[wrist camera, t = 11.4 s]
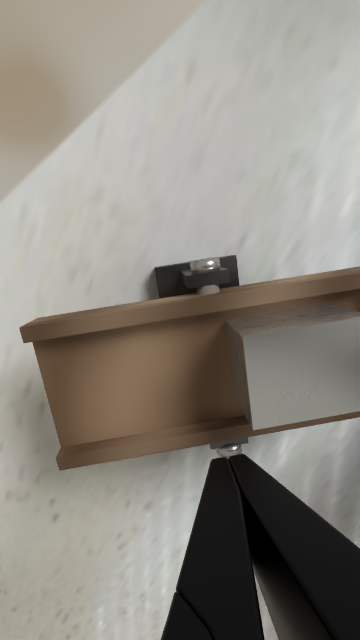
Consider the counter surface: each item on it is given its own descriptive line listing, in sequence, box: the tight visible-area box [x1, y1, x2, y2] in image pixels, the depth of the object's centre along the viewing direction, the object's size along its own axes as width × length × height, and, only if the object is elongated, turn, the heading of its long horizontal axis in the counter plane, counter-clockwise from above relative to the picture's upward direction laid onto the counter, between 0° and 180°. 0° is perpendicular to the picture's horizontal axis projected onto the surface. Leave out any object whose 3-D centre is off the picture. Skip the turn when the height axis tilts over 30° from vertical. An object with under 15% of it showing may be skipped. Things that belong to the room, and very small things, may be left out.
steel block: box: [225, 303, 360, 430], centre depth 13 cm, size 5×4×3 cm
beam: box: [20, 267, 360, 470], centre depth 16 cm, size 17×8×5 cm, turn 99°
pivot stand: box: [155, 255, 248, 458], centre depth 17 cm, size 5×10×6 cm, turn 9°
